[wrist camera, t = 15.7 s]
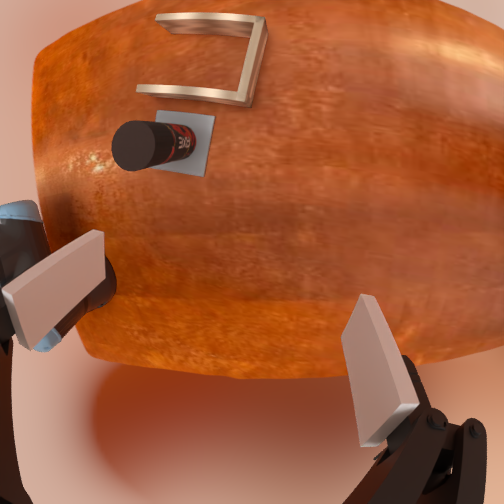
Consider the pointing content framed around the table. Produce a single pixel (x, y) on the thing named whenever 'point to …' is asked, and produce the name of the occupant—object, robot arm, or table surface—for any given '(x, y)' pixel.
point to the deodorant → (151, 144)
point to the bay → (216, 26)
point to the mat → (203, 133)
